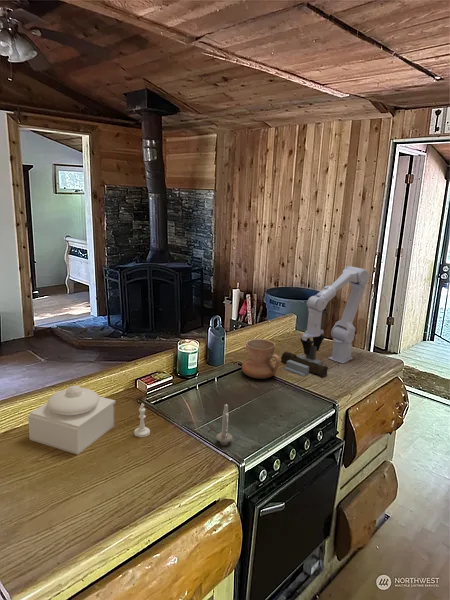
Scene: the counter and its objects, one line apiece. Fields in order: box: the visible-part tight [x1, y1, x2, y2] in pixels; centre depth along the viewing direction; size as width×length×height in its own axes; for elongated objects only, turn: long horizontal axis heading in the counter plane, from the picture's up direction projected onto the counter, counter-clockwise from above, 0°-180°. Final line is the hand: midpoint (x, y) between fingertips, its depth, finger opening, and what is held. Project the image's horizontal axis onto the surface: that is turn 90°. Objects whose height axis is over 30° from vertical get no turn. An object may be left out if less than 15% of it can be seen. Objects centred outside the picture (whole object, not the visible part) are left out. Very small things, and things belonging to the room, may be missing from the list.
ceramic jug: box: [241, 338, 281, 380], centre depth 182 cm, size 18×14×14 cm
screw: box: [216, 403, 233, 446], centre depth 132 cm, size 13×5×5 cm
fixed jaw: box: [283, 360, 310, 377], centre depth 189 cm, size 4×10×4 cm, turn 47°
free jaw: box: [297, 344, 322, 365], centre depth 195 cm, size 4×10×10 cm, turn 47°
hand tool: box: [280, 351, 329, 378], centre depth 193 cm, size 23×5×6 cm, turn 46°
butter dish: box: [27, 384, 117, 456], centre depth 133 cm, size 18×18×16 cm
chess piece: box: [133, 403, 151, 438], centre depth 135 cm, size 5×5×10 cm
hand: (311, 352), depth 196 cm, fingers open, 7 cm apart
